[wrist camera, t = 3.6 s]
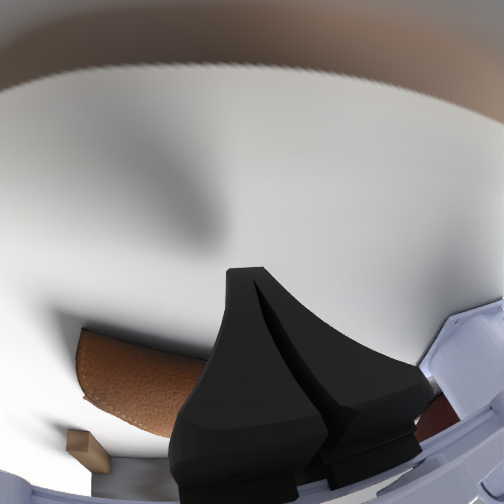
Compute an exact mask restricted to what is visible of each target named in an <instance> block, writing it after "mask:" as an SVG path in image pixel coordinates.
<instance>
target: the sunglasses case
mask: <svg viewBox="0 0 504 504" xmlns="http://www.w3.org/2000/svg"><path fill="white" fill-rule="evenodd" d="M206 363H207V361H205V360H201V359H196V358H191V357H187V356H181V355H176V354H171V353H167V352H162V351H158V350H153V349H149V348H145V347H142V346H138V345H135V344H131V343H128V342H124V341H120V340H116V339H112V338H109V337H106V336H104V335H101V334H98V333H93V332H87V330H85V329H83V328H82V329H81V333H80V338H79V342H78V346H77V351H76V374H77V377H78V382H79V384H80V386H81V389H82V391H83V392H84V393H85V396H84V397H83V399H85V400H87V401H89V402H90V403H92V404H93V405H94V406H96V407H97V408H99V409H101V410H103V411H105V412H107V413H109V414H112V415H114V416H116V417H118V418H120V419H121V420H123V421H125V422H128V423H129V424H131V425H134V426H136V427H138V428H140V429H142V430H145V431H147V432H150V433H153V434H156V435H158V436H163V437H166V438H171V434H172V431H173V427H174V424H175V421H176V418H177V415H178V412H179V410H180V408H181V407H182V405H183V404H184V402H185V401H186V399H187V398H188V396H189V394H190V393H191V391H192V390H193V388H194V386H195V384H196V382H197V381H198V379H199V377H200V375H201V373H202V371H203V369H204V367H205V365H206Z"/></svg>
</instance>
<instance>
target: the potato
mask: <svg viewBox="0 0 504 504" xmlns="http://www.w3.org/2000/svg"><path fill="white" fill-rule="evenodd" d="M460 421H461V420H460V418H459V417H458V415H457V414H456V412H455V410H454V409H453V407H452V405H451V404H450V402H449V401H448V399H447V398H446V396H445V394H442V395H440V396H439V397H438V398H436V399H435V400H434V401H433V403H432V404H431V405H430V406H429V407H428V408H427V409H426V410H425V412H424V413H423V415H422V416H421V418H420V419H419V421H418V422H417V424H416V427H417V431H416V432H415V433H414V435H415V437H416V438H417V440H418V442H419V443H421V442H423V441H425V440H427V439H429V438H431V437H433V436H434V435H436V434H438V433H440V432H442V431H444V430H446V429H447V428H449V427H451V426H453V425H454V424H456V423H458V422H460ZM414 468H416V466H415V467H413V469H414Z"/></svg>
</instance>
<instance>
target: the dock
mask: <svg viewBox="0 0 504 504" xmlns="http://www.w3.org/2000/svg"><path fill="white" fill-rule="evenodd" d="M66 450H67V451H68V452H69V453H70V454H71V455H72V456H73V457H74V458H75V459H76V460H78V461H79V462H80V463H81V464H82V465H83V466H84V467H85V468H87V469H88V470H89V471H90V472H91V473H92V478H91V497H96V498H105V499H114V500H126V501H145V502H180V499H179V492H178V485H177V484H176V482H175V481H174V479H173V477H172V475H171V474H170V467H169V458H120V457H111V456H110V455H109V454H108V453H107V452H106V451H105V450H104V449H103V447H102V446H101V445H100V444H99V443H98V441H97V440H96V439H95V438H94V437H93V435H92V434H91V433H90V432H87V431H77V430H68V437H67V446H66Z"/></svg>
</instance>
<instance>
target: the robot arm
mask: <svg viewBox="0 0 504 504" xmlns="http://www.w3.org/2000/svg"><path fill="white" fill-rule="evenodd" d="M503 309H504V299H503V300H500V301H497V302H494V303H491V304H488V305H485V306H482V307H479V308H475V309H472V310H469V311H466V312H462V313H459V314H455V315H452V316H450V317H449V318H448V319H447V321H446V323H445V324H444V326H443V328H442V330H441V331H440V333H439V335H438V337H437V338H436V340H435V342H434V343H433V345H432V347H431V348H430V350H429V351H428V353H427V355H426V356H425V358H424V359H423V361H422V362H421V364H420V365H419V367H416V366H413V365H410V364H407V363H404V362H401V361H398V360H395V359H393V358H390V357H388V356H385V355H383V354H381V353H378V352H376V351H374V350H372V349H370V348H368V347H365V346H363V345H361V344H360V343H358V342H356V341H354V340H352V339H351V338H349V337H347V336H345V335H344V334H342V333H340V332H339V331H337V330H336V329H334V328H333V327H331V326H330V325H328V324H327V323H325V322H324V321H322V320H321V319H320V318H318V317H317V316H316V315H314V314H313V313H312V312H311V311H310V310H308V309H307V308H306V307H305V306H303V305H302V304H301V303H300V302H299V301H298V300H297V299H295V298H294V297H293V296H292V295H291V294H290V293H289V292H288V291H287V290H286V289H285V288H284V287H283V286H282V285H281V284H280V283H279V282H278V281H277V280H276V279H275V278H274V277H273V276H272V275H271V274H270V273H269V272H268V271H267V270H266V269H265V268H264V267H248V268H230V269H228V270H227V271H226V300H225V311H224V315H223V319H222V323H221V326H220V330H219V333H218V336H217V339H216V341H215V344H214V347H213V349H212V351H211V354H210V356H209V359H208V361H207V363H206V365H205V367H204V369H203V371H202V373H201V375H200V377H199V379H198V381H197V382H196V384H195V386H194V388H193V390H192V391H191V393H190V394H189V396H188V398H187V399H186V401H185V402H184V404H183V405H182V407H181V408H180V410H179V412H178V415H177V418H176V421H175V424H174V427H173V431H172V434H171V438H170V442H169V449H168V458H169V467H170V474H171V475H172V477H173V479H174V481H175V482H176V484H177V485H178V492H179V499H180V502H145V501H126V500H114V499H105V498H96V497H89V496H82V495H76V494H70V493H65V492H60V491H55V490H51V489H46V488H42V487H38V486H34V485H31V484H30V483H29V482H28V481H26V480H25V479H23V478H21V477H19V476H17V475H15V474H12V473H9V472H6V471H3V470H0V504H320V503H323V502H326V501H330V500H333V499H336V498H339V497H342V496H345V495H348V494H351V493H354V492H357V491H359V490H362V489H364V488H367V487H370V486H372V485H375V484H377V483H380V482H382V481H384V480H387V479H389V478H391V477H393V476H396V475H398V474H400V473H402V472H404V471H406V470H408V469H410V468H413V467H415V466H416V468H414V469H412V470H411V471H409V472H407V473H405V474H403V475H402V476H401V477H400V478H399V479H397V480H396V481H395V482H393V483H391V484H390V485H388V486H387V487H385V488H383V489H381V490H380V491H378V492H377V494H376V495H377V498H375V499H372V500H370V501H367V502H365V503H362V504H472V503H473V502H474V501H475V500H477V498H479V499H481V500H482V501H483V502H484V503H485V504H504V310H503ZM430 376H433V377H434V379H435V380H436V382H437V384H438V385H439V387H440V388H441V390H442V391H443V393H444V394H445V396H446V398H447V399H448V401H449V402H450V404H451V405H452V407H453V409H454V410H455V412H456V414H457V415H458V417H459V418H460V420H461V421H460V422H458V423H456V424H454V425H453V426H451V427H449V428H447V429H446V430H444V431H442V432H440V433H438V434H436V435H434V436H433V437H431V438H429V439H427V440H425V441H423V442H421V443H419V442H418V440H417V438H416V437H415V435H414V433H415V432H416V431H417V427H416V425H415V423H414V420H415V419H416V417H417V416H418V415H419V414H420V413H421V412H422V411H423V410H424V409H425V407H426V406H427V405H428V404H429V402H430V401H431V399H432V397H433V394H434V390H433V388H432V386H431V384H430V383H429V381H428V380H427V378H428V377H430Z"/></svg>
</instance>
